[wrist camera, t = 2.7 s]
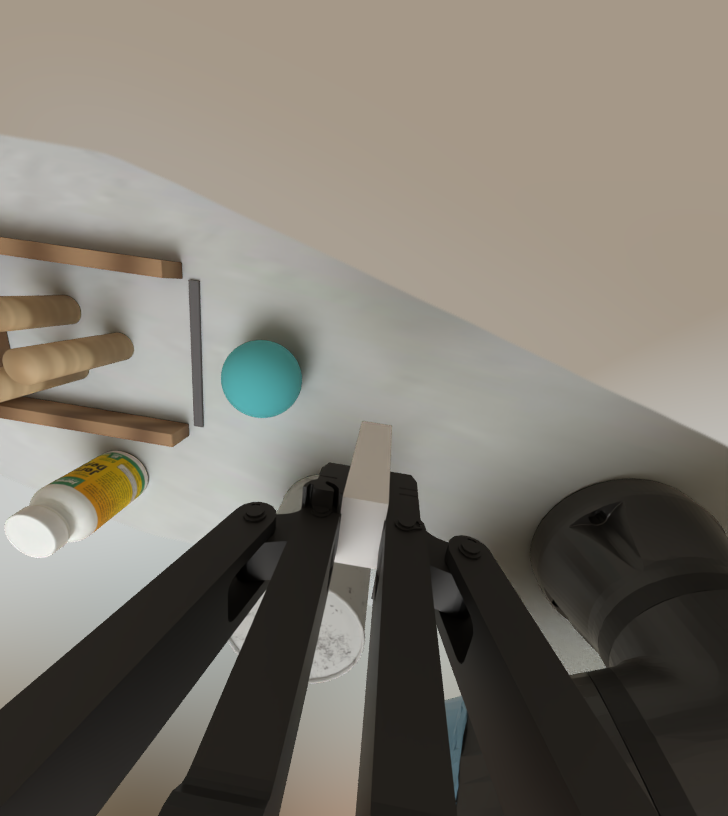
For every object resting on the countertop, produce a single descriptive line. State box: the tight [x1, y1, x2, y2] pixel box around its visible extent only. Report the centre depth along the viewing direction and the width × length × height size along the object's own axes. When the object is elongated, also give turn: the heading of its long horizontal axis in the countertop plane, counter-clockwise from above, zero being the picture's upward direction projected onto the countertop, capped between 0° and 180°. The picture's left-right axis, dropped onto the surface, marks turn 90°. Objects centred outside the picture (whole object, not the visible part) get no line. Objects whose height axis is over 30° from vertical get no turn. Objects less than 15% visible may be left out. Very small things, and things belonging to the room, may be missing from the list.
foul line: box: [189, 280, 204, 427], centre depth 30 cm, size 1×13×1 cm, turn 172°
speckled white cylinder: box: [228, 475, 371, 684], centre depth 28 cm, size 10×10×12 cm
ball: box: [221, 340, 302, 418], centre depth 27 cm, size 6×6×6 cm
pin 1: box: [0, 295, 81, 332], centre depth 26 cm, size 2×2×8 cm
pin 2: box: [0, 367, 89, 402], centre depth 27 cm, size 2×2×8 cm
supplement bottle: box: [4, 451, 148, 558], centre depth 30 cm, size 5×5×10 cm
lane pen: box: [0, 237, 189, 447], centre depth 29 cm, size 18×15×3 cm
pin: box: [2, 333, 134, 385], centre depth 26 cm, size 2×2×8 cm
